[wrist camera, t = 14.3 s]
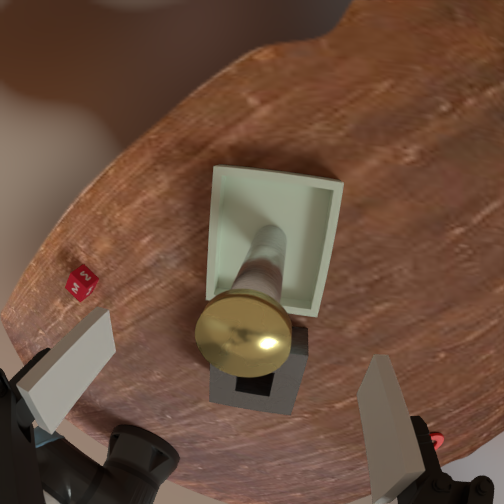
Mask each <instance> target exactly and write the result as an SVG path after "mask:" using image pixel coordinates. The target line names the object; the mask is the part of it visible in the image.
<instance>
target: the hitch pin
mask: <svg viewBox="0 0 504 504" xmlns="http://www.w3.org/2000/svg"><path fill="white" fill-rule="evenodd" d="M286 247H287V237H286V234H285V233H284V231H283V230H282V229H281V228H279V227H277V226H274V225H267V226H264V227H262V228H260V229H259V230H258V231H257V233H256V235H255V237H254V239H253V241H252V244H251V246H250V248H249V250H248V252H247V254H246V256H245V259H244V261H243V263H242V265H241V267H240V269H239V272H238V274H237V276H236V278H235V280H234V282H233V285H232V287H231V289H230V290H227V291H224V292H222V293H220V294H218V295H216V296H215V297H214V298H212V299H211V300H210V301H209V302H208V304H207V305H206V307H205V309H204V310H203V312H202V314H201V316H200V318H199V319H198V322H197V324H196V328H195V340H196V344H197V346H198V349H199V350H200V352H201V354H202V355H203V356H204V358H205V359H206V360H207V361H208V362H209V363H210V364H212V365H213V366H214V367H216V368H217V369H219V370H221V371H223V372H225V373H228V374H231V375H234V376H239V377H259V376H263V375H267V374H269V373H271V372H273V371H275V370H277V369H278V368H279V367H280V366H281V365H282V364H283V363H284V362H285V361H286V359H287V358H288V356H289V353H290V349H291V338H292V325H291V321H290V318H289V315H288V314H287V312H286V310H285V309H284V308H283V306H282V305H281V304H280V300H281V291H282V283H283V274H284V266H285V257H286Z"/></svg>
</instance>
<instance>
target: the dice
mask: <svg viewBox="0 0 504 504" xmlns="http://www.w3.org/2000/svg"><path fill="white" fill-rule="evenodd" d="M98 280H99V278H98V277H97V276H96V275H95V274H94V273H92V272H91V271H90V270H89V269H88V268H87V267H86V266H85V265H84V264H83V265H82V266H80V267H79V268H77V269H76V270H74V271H73V272H71V273H70V276H69V278H68V281H67V283H66V286H65V288H66V289H67V290H68V291H69V292H70V293H71V294H72V295H73V296H74V297H75V298H76V299H77V300H78V301H79V302H82V301H83V300H84V299H85V298H86V297H88V296H89V295H90V294H91V293H92V292H93V290H94V288H95V286H96V284H97V282H98Z"/></svg>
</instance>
